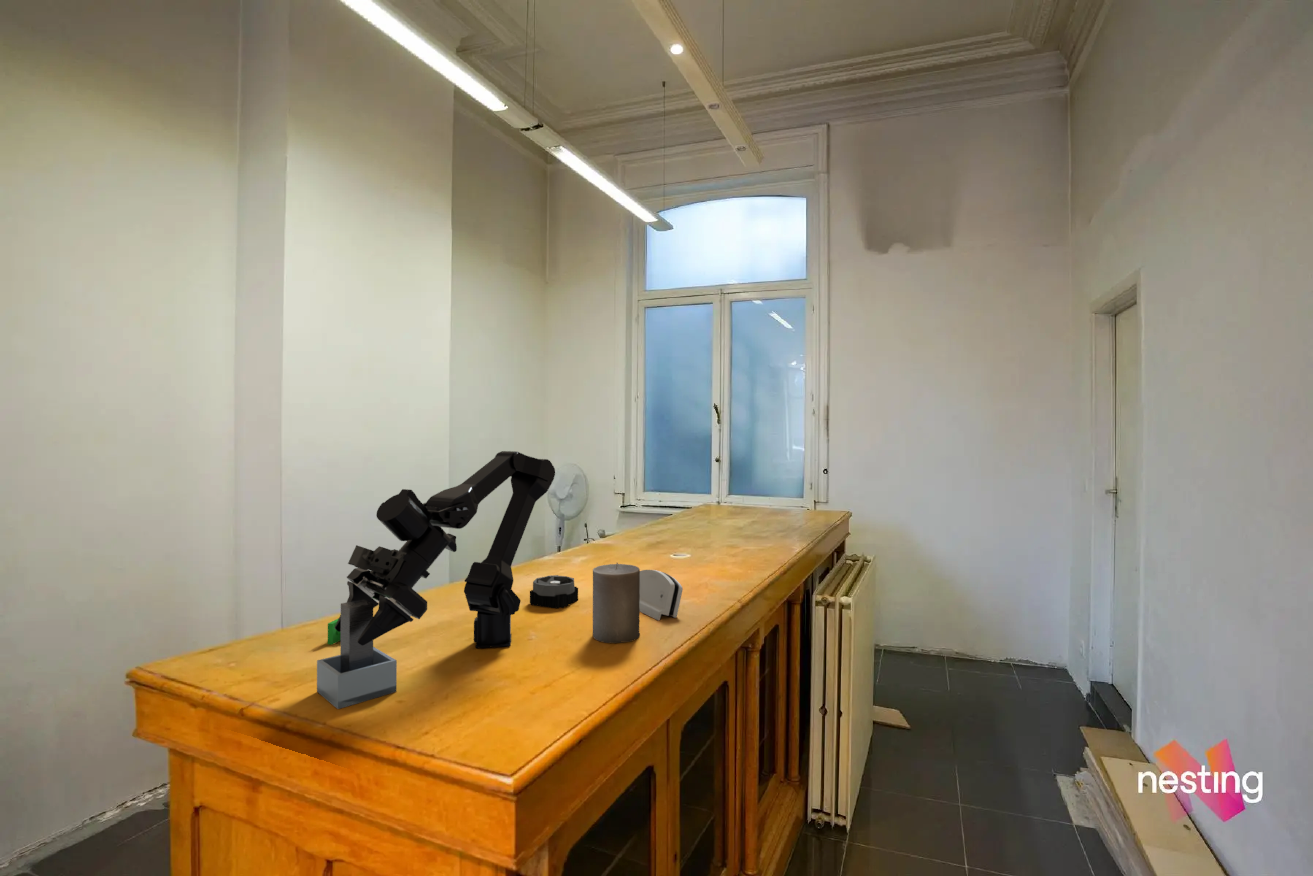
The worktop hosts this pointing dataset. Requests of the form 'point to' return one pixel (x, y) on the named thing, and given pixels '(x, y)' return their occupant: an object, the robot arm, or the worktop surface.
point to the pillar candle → (616, 603)
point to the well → (356, 680)
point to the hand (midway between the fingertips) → (347, 636)
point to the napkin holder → (659, 594)
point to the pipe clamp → (333, 633)
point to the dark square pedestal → (355, 635)
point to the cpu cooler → (553, 591)
